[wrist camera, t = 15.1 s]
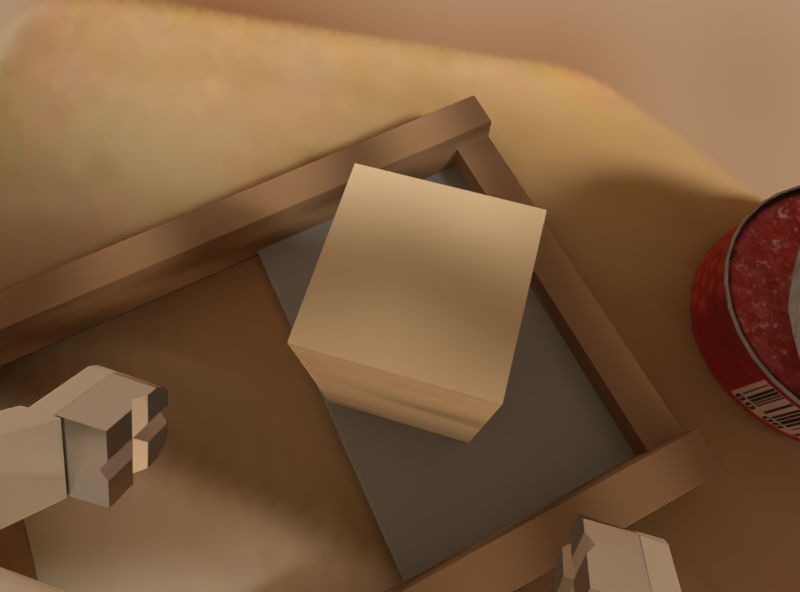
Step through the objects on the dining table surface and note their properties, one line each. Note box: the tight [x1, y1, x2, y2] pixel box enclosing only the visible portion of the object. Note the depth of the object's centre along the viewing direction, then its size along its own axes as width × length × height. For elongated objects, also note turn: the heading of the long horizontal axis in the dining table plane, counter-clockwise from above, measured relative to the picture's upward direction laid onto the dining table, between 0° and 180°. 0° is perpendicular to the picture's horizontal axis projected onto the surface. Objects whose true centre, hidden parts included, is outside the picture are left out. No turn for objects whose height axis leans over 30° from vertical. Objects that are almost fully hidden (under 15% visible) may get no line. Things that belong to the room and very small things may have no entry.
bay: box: [0, 96, 726, 592], centre depth 20 cm, size 24×17×4 cm
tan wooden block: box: [287, 163, 547, 443], centre depth 19 cm, size 6×6×8 cm
